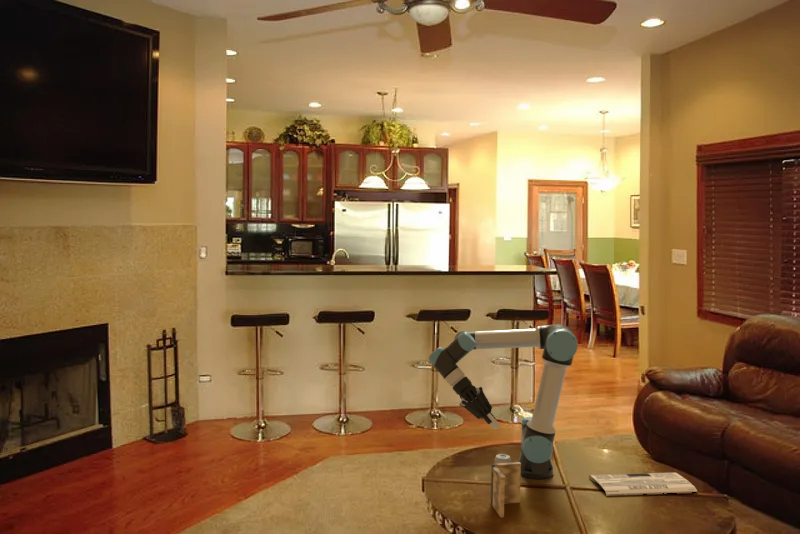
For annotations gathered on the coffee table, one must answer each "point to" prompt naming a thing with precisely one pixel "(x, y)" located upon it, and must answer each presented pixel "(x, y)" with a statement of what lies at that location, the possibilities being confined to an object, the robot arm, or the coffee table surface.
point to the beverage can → (502, 459)
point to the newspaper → (643, 483)
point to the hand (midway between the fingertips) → (497, 428)
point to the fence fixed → (498, 491)
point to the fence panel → (509, 481)
